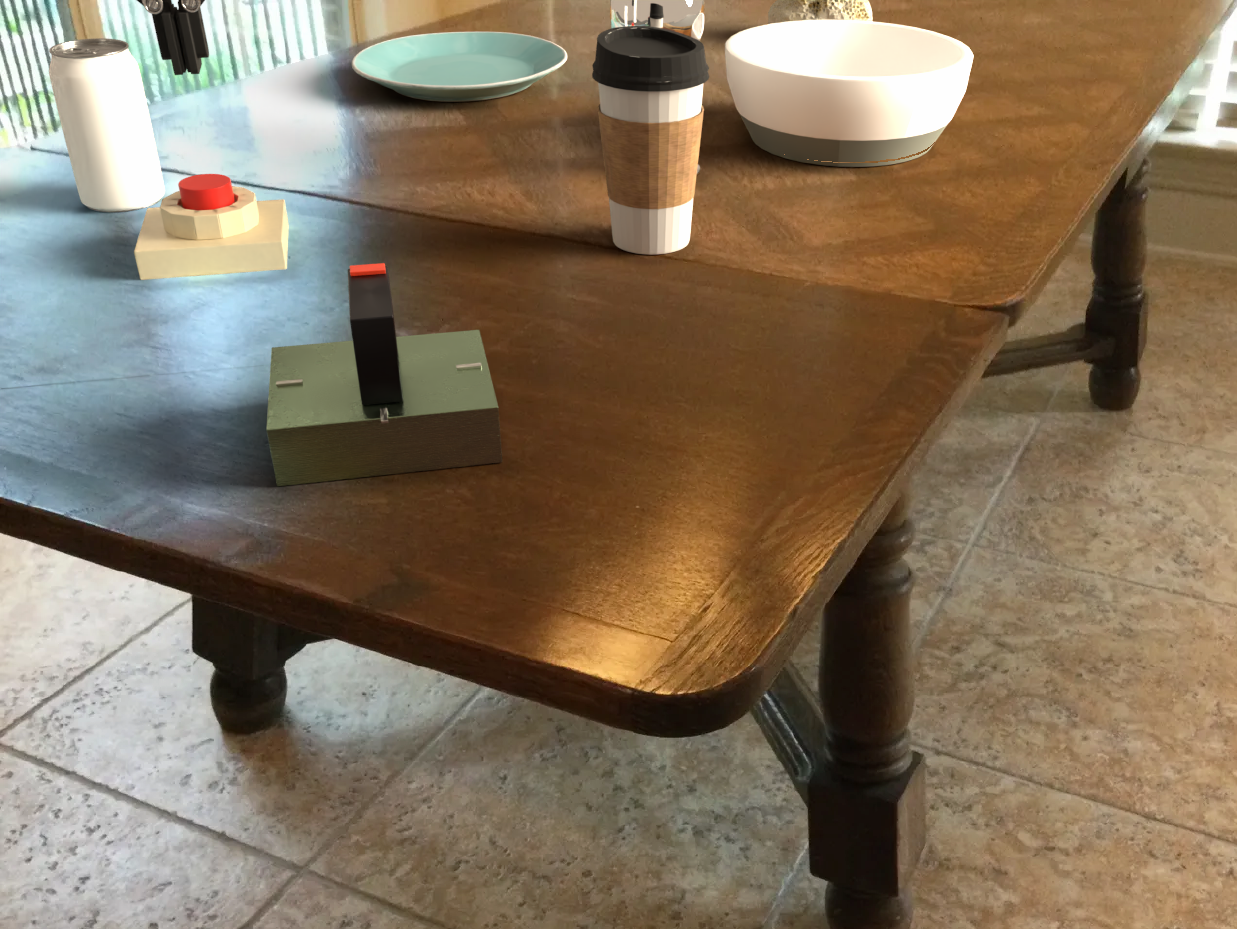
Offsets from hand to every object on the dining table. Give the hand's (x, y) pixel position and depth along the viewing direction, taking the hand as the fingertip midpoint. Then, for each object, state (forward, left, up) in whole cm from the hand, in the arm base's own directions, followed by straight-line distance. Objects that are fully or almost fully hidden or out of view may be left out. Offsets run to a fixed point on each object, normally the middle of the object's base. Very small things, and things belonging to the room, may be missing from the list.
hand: (188, 69), depth 90 cm
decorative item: (+65, +55, -13) cm, 86 cm away
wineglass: (+36, +12, -13) cm, 40 cm away
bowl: (+55, +18, -13) cm, 59 cm away
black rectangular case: (+11, -30, -10) cm, 33 cm away
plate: (+22, +44, -13) cm, 51 cm away
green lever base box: (+11, -30, -13) cm, 35 cm away
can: (-8, +13, -13) cm, 20 cm away
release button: (0, 0, -10) cm, 10 cm away
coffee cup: (+32, -4, -13) cm, 35 cm away
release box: (0, 0, -13) cm, 13 cm away
